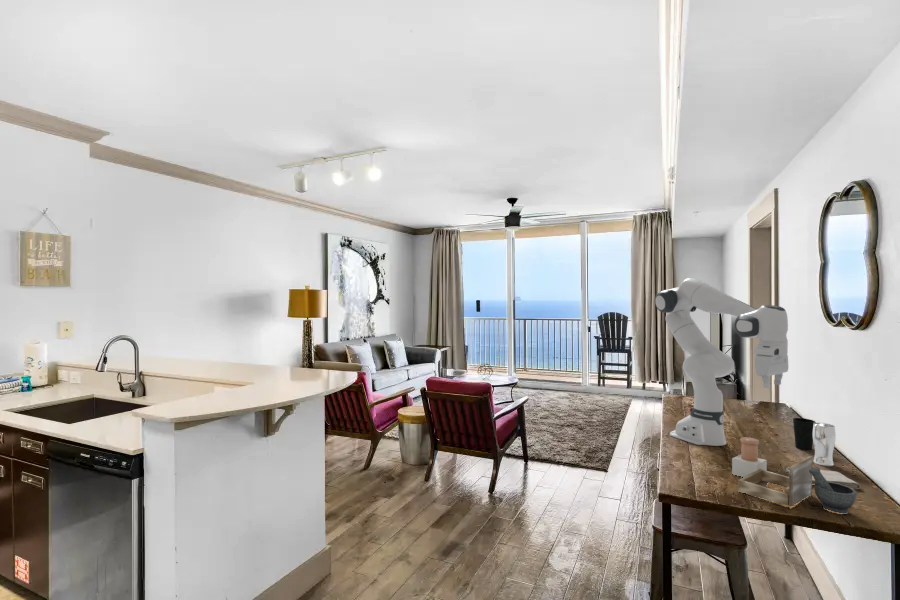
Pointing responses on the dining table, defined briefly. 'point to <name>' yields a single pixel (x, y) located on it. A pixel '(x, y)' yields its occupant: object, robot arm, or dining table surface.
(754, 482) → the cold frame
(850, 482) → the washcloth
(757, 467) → the block
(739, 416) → the dining table surface
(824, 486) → the mortar and pestle
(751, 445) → the terracotta pot
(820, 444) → the beer glass
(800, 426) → the cup
